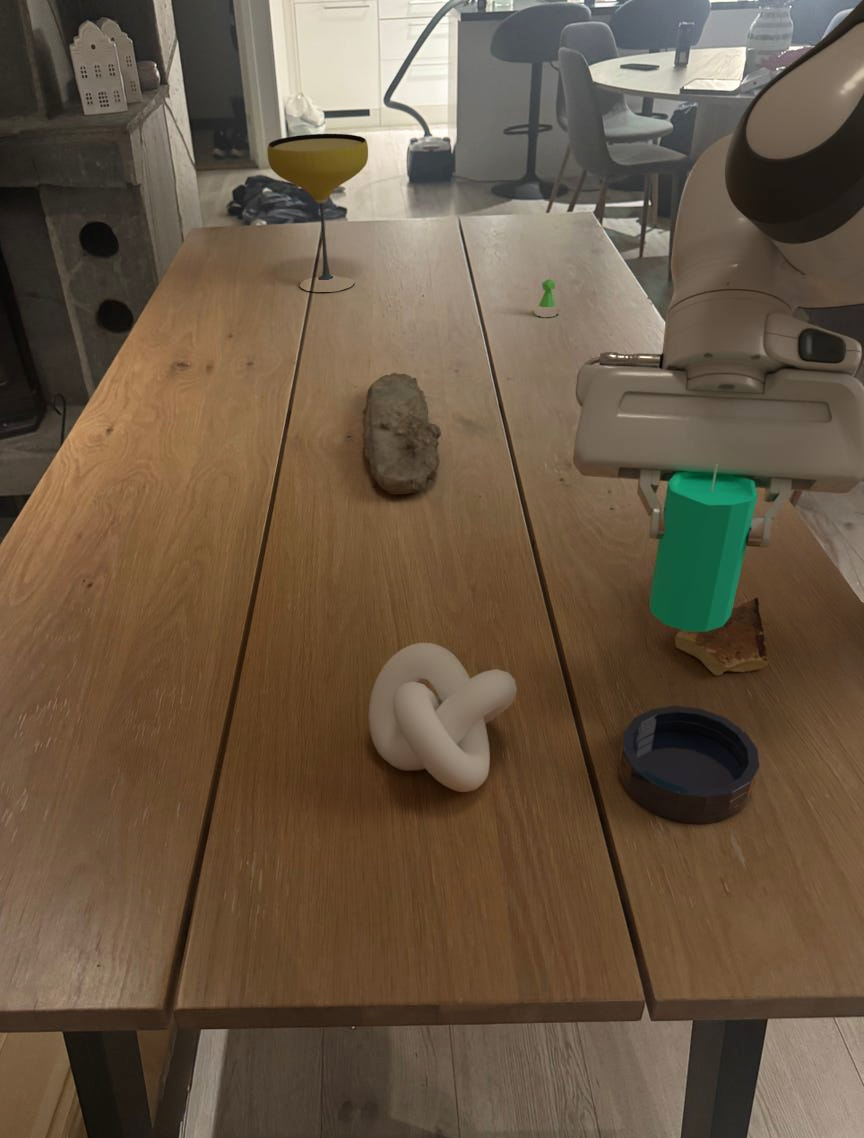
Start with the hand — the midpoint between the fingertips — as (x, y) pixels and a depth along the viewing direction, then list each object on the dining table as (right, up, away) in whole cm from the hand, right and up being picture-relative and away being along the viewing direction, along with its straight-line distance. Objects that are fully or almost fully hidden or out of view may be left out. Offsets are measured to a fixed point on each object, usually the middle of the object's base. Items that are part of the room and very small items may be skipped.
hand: (708, 541), depth 68 cm
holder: (+1, -18, +8) cm, 20 cm away
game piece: (+5, +50, +100) cm, 112 cm away
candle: (0, -5, +5) cm, 7 cm away
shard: (+8, -7, +23) cm, 25 cm away
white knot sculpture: (-18, -17, +11) cm, 27 cm away
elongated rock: (-21, +20, +61) cm, 67 cm away
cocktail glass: (-34, +62, +118) cm, 138 cm away
